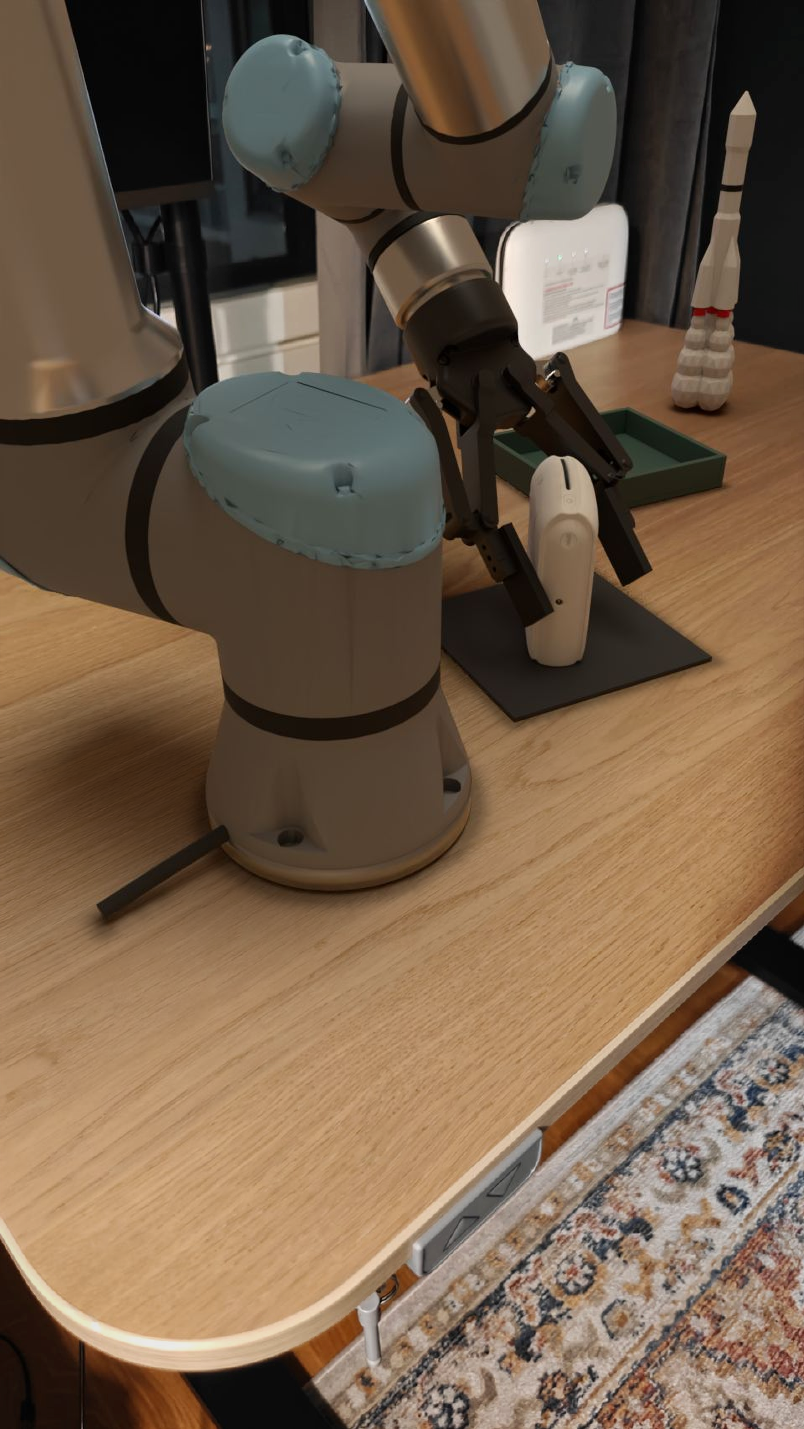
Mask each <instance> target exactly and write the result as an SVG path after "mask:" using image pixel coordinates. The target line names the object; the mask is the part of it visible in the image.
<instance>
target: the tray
mask: <svg viewBox="0 0 804 1429" xmlns="http://www.w3.org/2000/svg"><path fill="white" fill-rule="evenodd" d="M599 414H600V415H601V416H602V418H603V419H604V421H605V422H606V424H607V425H608V427H609V428H610V429H611V431H612V432H613V434H614V435H615V437H616V438H617V440H618V441H619V442H620V444H621V445H622V447H623V448H624V450H625V451H626V453H627V454H628V455H629V457H630V458H631V460H632V462H633V468H632V469H631V470H630V471H629V472H628V473H626V476H625V479H623V480H622V481H621V482H619V489H620V491H621V493H622V495H623V497H624V499H625V501H626V504H627V506H628V508H629V509H631V508H635V507H639V506H644V505H648V504H651V503H653V504H654V503H656V502H660V501H664V500H669V499H673V498H677V497H681V496H687V495H691V494H695V493H699V492H702V491H707V490H712V489H715V488H719V487H722V486H723V483H724V482H723V481H724V477H725V470H726V466H727V459H728V455H727V454H725V453H723V452H720V451H719V450H717V449H715V448H712V447H711V446H709V445H706V444H704V443H703V442H701V441H698V440H696V439H695V438H692V437H690V436H688V435H686V434H685V433H683V432H680V431H678V430H677V429H674V428H673V427H670V426H668V425H666V424H664V423H662V422H660V421H658V420H656V419H654V418H652V417H651V416H648V415H646V414H644V413H642V412H640V411H639V410H636V409H634V408H631V406H625V407H621V408H616V409H615V408H614V409H610V410H606V411H600V412H599ZM493 442H494V456H495V471H496V476H498V477H500V478H501V479H502V480H504V481H505V482H507V483H508V484H510V485H512V486H513V487H514V488H516V489H517V490H519V491H520V492H522V493H523V494H524V495H526V496H528V497H529V498H530V488H531V480H532V476H533V474H534V473H535V471H536V469H537V468H538V466H539V465H540V464H541V463H542V462H543V461H544V460H545V459H547V458H548V456H547V455H546V454H545V453H544V452H543V451H542V450H541V449H540V448H539V447H538V446H537V445H536V444H535V443H534V442H533V441H532V440H531V439H530V438H528V437H522V436H520V435H519V434H518V433H517V432H516V431H515V430H514V429H513V428H512V429H507V430H503V431H498V432H494V435H493ZM612 463H613V462H611V464H612ZM593 477H594V478H595V479H596V478H597V477H596V476H595V475H593Z"/></svg>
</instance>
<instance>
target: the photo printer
mask: <svg viewBox="0 0 804 1429" xmlns="http://www.w3.org/2000/svg"><path fill="white" fill-rule="evenodd" d="M528 513H529V514H528V526H527V528H528V529H527V544H526V553H527V555H528V557H529V559H530V561H531V563H532V565H533V568H534V570H535V572H536V574H537V576H538V578H539V580H540V582H541V584H542V586H543V588H544V590H545V592H546V594H547V596H548V599H549V601H550V603H551V605H552V607H553V609H554V612H553V613H551V614H549V615H548V616H546V617H544V618H543V619H541V620H540V621H538V622H536V623H535V624H533V625H531V626H528V627H526V628H525V631H526V640H527V647H528V651H529V654H530V657H531V659H535V660H537V662H538V663H540V664H543V665H547V666H556V667H560V666H568V665H572V664H574V663H575V662H576V661H579V660H581V659H582V656H583V653H584V650H585V644H586V637H587V629H588V621H589V612H590V603H591V594H592V584H593V575H594V572H595V566H596V565H595V564H596V557H597V556H596V555H597V546H598V511H597V503H596V497H595V492H594V488H593V484H592V481H591V479H590V476H589V474H588V472H587V470H586V469H585V467H584V466H583V465H582V464H581V463H580V462H579V461H578V460H576V459H574V458H573V457H570V456H566V457H557V456H550V457H548V458H547V459H545V460H544V461H543V462H542V463H541V464H540V465H539V466H538V468H537V469H536V471H535V473H534V474H533V476H532V480H531V488H530V497H529V510H528Z"/></svg>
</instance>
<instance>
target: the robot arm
mask: <svg viewBox="0 0 804 1429" xmlns="http://www.w3.org/2000/svg"><path fill="white" fill-rule="evenodd" d="M363 1H364V4H365V6H366V8H367V10H368V12H369V14H370V16H371V18H372V21H373V24H374V25H375V27H376V30H377V32H378V33H379V37H380V38H381V40H382V43H383V45H384V47H385V49H386V51H387V53H388V55H389V57H390V60H391V61H392V63H390V62H389V63H386V62H384V63H382V62H340V61H336V60H333V59H332V58H331V56H329V55H328V53H327V52H326V51H325V50H324V48H321V47H320V48H319V47H318V46H317V45H315V44H310V43H308V42H306V41H305V40H303V39H301V37H300V38H299V37H298V36H295V35H290V34H275V35H270V36H267V37H265V38H262V39H260V40H259V41H257V42H255V43H254V44H252V45H251V46H250V47H249V48H248V49H246V51H244V53H242V55H241V56H240V58H239V59H238V61H237V62H236V63H235V65H234V66H233V68H232V70H231V72H230V75H229V77H228V80H227V81H226V85H225V88H224V95H223V101H222V112H221V116H222V118H221V119H222V127H223V130H224V131H223V132H224V136H225V140H226V143H227V145H228V148H229V150H230V151H231V153H232V155H233V156H234V158H235V159H236V160H237V162H238V164H240V165H241V166H242V167H243V168H244V169H246V170H247V171H248V172H250V173H251V174H253V175H254V176H256V177H257V178H259V179H260V180H261V181H262V182H263V183H265V185H266V187H268V188H271V190H272V191H274V192H276V193H283V194H285V195H287V196H289V197H290V198H292V199H294V200H296V201H298V202H300V203H302V204H303V205H306V206H308V207H310V208H311V209H313V210H315V211H317V212H319V213H321V214H323V215H325V216H327V217H328V218H330V219H332V220H334V221H335V222H337V223H339V224H341V225H343V226H345V227H346V228H347V229H348V230H349V232H350V234H351V236H353V240H354V241H355V243H356V245H357V247H358V249H359V252H360V253H361V255H362V258H363V260H364V261H365V263H366V265H367V267H368V269H369V272H370V273H371V276H372V278H373V279H374V282H375V283H376V286H377V287H378V290H379V293H380V294H381V296H382V298H383V300H384V301H385V304H386V306H387V308H388V310H389V313H390V314H391V316H392V318H393V321H394V323H395V325H396V327H398V328H399V329H400V330H403V333H402V341H403V342H404V345H405V346H406V349H407V350H408V353H409V354H410V357H411V359H412V361H413V363H414V365H415V368H416V369H417V372H418V374H419V375H420V377H421V378H422V379H423V380H424V381H426V382H428V386H429V388H427V389H426V388H425V387H421V386H420V387H416V388H415V389H414V390H413V391H412V393H411V394H410V395H409V397H407V399H406V400H405V402H404V401H403V400H401V399H400V398H398V397H396V396H395V395H394V394H391V393H390V392H387V391H386V390H383V389H381V388H378V387H376V386H373V385H370V384H367V383H364V382H360V381H357V380H354V379H350V378H347V377H344V376H343V377H342V376H339V375H338V376H337V375H334V374H328V373H321V372H311V371H301V372H299V373H298V374H286V373H283V372H281V371H280V370H279V371H278V370H277V371H275V370H274V371H272V370H270V371H260V372H250V373H244V374H239V375H236V376H232V377H228V378H226V379H222V380H219V381H217V382H215V383H213V384H211V385H210V386H207V387H206V388H205V389H203V390H202V391H201V392H199V393H198V395H197V394H196V391H195V389H194V385H193V381H192V380H193V379H192V376H191V371H190V367H189V365H188V360H187V356H186V351H185V347H184V342H183V340H182V336H181V333H180V331H179V330H178V329H177V327H175V326H174V325H173V324H172V323H171V322H169V321H167V320H166V319H164V318H163V317H161V316H160V315H158V314H157V313H155V312H153V310H151V309H148V308H147V307H146V306H144V304H143V303H142V300H141V297H140V293H139V289H138V284H137V281H136V277H135V272H134V270H133V265H132V261H131V257H130V254H129V250H128V246H127V241H126V237H125V235H124V233H125V232H124V229H123V225H122V222H121V218H120V214H119V210H118V206H117V202H116V198H115V194H114V190H113V187H112V182H111V177H110V175H109V174H110V173H109V171H108V166H107V163H106V159H105V154H104V151H103V148H102V143H101V139H100V135H99V132H98V128H97V127H98V126H97V123H96V119H95V115H94V111H93V108H92V104H91V100H90V96H89V92H88V89H87V85H86V81H85V77H84V72H83V69H82V65H81V61H80V57H79V53H78V49H77V44H76V41H75V37H74V34H73V29H72V25H71V21H70V17H69V13H68V10H67V6H66V2H65V0H0V571H1V572H4V573H5V574H8V575H10V576H13V577H14V578H15V577H16V578H18V579H21V580H23V581H25V582H26V583H28V584H30V585H31V586H33V587H36V588H37V589H39V590H42V591H45V592H50V593H56V594H60V595H62V596H64V597H73V598H78V599H82V600H86V601H88V602H94V603H97V604H101V605H104V606H107V607H111V608H115V609H119V610H122V611H126V612H128V613H129V612H130V613H132V614H137V615H141V616H144V617H147V618H151V619H155V620H158V621H161V622H165V623H169V624H172V625H175V626H179V627H183V628H185V629H189V630H193V631H196V632H199V633H202V634H206V635H209V636H211V638H212V639H213V640H214V641H215V643H216V649H217V655H218V656H217V657H218V662H219V663H218V664H219V669H220V674H221V680H222V681H221V682H222V688H223V696H224V700H223V704H222V709H221V713H220V717H219V722H218V726H217V730H216V733H215V738H214V741H213V746H212V751H211V754H210V758H209V763H208V768H207V772H206V779H205V780H206V781H205V790H204V791H205V802H206V807H207V814H208V820H209V824H210V829H211V831H209V832H208V833H206V834H205V835H203V836H201V837H199V838H198V839H196V840H195V841H194V842H192V843H190V844H188V845H187V846H185V847H183V848H182V849H180V850H179V851H177V852H176V853H173V855H170V856H169V857H167V858H166V859H165V860H163V861H161V862H159V863H158V864H157V865H155V866H153V867H152V868H150V869H149V870H147V871H146V872H144V873H142V874H141V875H140V876H137V877H136V878H135V879H133V880H131V881H130V882H128V883H127V884H125V885H124V886H122V887H121V888H119V889H117V890H116V891H115V892H113V893H111V894H110V895H108V896H107V897H105V898H104V899H102V900H100V901H99V902H97V903H96V904H95V905H96V906H95V907H96V908H97V909H98V911H99V913H100V914H101V916H102V917H103V919H104V920H107V919H109V918H111V917H112V916H113V915H115V914H117V913H118V912H120V911H121V910H123V909H125V907H127V906H129V905H130V904H132V903H133V902H135V901H136V900H138V899H139V898H141V897H142V896H145V895H146V894H147V893H149V892H150V891H152V890H153V889H155V888H157V887H158V886H159V885H161V884H163V883H164V882H165V881H167V880H169V879H170V878H172V877H173V876H175V875H176V874H179V873H180V872H181V871H183V870H184V869H186V868H187V867H189V866H190V865H192V864H194V863H195V862H197V861H199V860H200V859H201V858H203V857H205V856H206V855H208V854H210V853H211V852H213V851H215V850H216V849H217V848H220V847H221V848H222V850H223V852H225V853H226V854H227V856H229V857H230V858H231V859H232V860H233V861H234V862H236V863H237V864H238V865H240V866H241V867H243V868H244V869H245V870H247V871H249V872H250V873H253V874H255V875H256V876H258V877H260V878H263V879H265V880H268V881H270V882H273V883H277V884H280V885H284V886H286V887H287V886H288V887H291V888H297V889H303V890H309V891H311V890H312V891H326V892H329V891H330V892H331V891H350V890H359V889H365V888H372V887H376V886H380V885H383V884H387V883H390V882H393V881H396V880H399V879H402V878H404V877H407V876H409V875H412V874H413V873H415V872H417V871H419V870H421V869H423V868H425V867H427V866H428V865H429V864H431V863H433V862H434V861H436V859H438V858H439V857H440V856H441V855H443V854H444V853H445V852H446V851H447V850H448V849H449V848H450V847H451V846H452V845H453V844H454V843H455V842H456V841H457V839H458V838H459V836H460V835H461V833H462V832H463V830H464V828H465V826H466V824H467V821H468V819H469V815H470V811H471V806H472V787H473V786H472V784H473V783H472V780H473V779H472V770H471V766H470V760H469V756H468V752H467V750H466V747H465V745H464V742H463V740H462V737H461V735H460V732H459V729H458V726H457V724H456V722H455V719H454V716H453V714H452V711H451V709H450V706H449V703H448V701H447V698H446V696H445V693H444V690H443V687H442V683H441V682H442V681H441V680H442V679H441V654H442V648H441V605H442V599H443V596H442V595H443V593H442V592H443V543H444V542H443V540H446V541H450V542H452V541H454V540H455V539H461V542H462V543H463V544H464V545H465V546H466V547H474V546H476V549H477V550H478V553H479V554H480V558H481V559H482V561H483V563H484V564H485V567H486V569H487V571H488V573H489V576H490V578H491V579H492V580H493V581H494V582H495V583H496V584H501V583H504V586H505V588H506V590H507V592H508V594H509V596H510V598H511V600H512V602H513V604H514V606H515V608H516V610H517V613H518V615H519V617H520V619H521V621H522V623H523V625H524V627H525V628H526V627H528V626H531V625H533V624H535V623H536V622H538V621H540V620H541V619H543V618H544V617H546V616H548V615H549V614H551V613H553V612H554V609H553V607H552V605H551V603H550V601H549V599H548V596H547V594H546V592H545V590H544V588H543V586H542V584H541V582H540V580H539V578H538V576H537V574H536V572H535V570H534V568H533V565H532V563H531V561H530V559H529V557H528V555H527V550H526V549H525V547H524V545H523V543H522V541H521V539H520V536H519V535H518V532H517V531H516V528H515V526H514V524H513V522H511V521H510V522H508V523H505V524H502V525H501V526H500V527H499V526H498V525H499V523H500V516H499V503H498V487H497V474H496V471H495V456H494V442H493V435H494V433H496V431H497V430H505V431H508V430H513V429H514V430H515V431H516V432H517V433H518V434H519V435H520V436H522V437H528V438H530V439H531V440H532V441H533V442H534V443H535V444H536V445H537V446H538V447H539V448H540V449H541V450H542V451H543V452H544V453H545V454H546V455H547V456H548V457H550V456H557V457H566V456H570V457H573V458H574V459H576V460H578V461H579V462H580V463H581V464H582V465H583V466H584V467H585V469H586V470H587V472H588V474H589V476H590V479H591V481H592V484H593V488H594V492H595V497H596V503H597V511H598V537H597V539H598V540H599V543H600V544H601V546H602V548H603V550H604V553H605V555H606V556H607V559H608V562H610V565H611V567H612V569H613V571H614V573H615V575H616V577H617V579H618V582H619V583H620V586H621V587H622V588H624V587H626V586H629V585H631V584H632V583H634V582H636V581H638V580H639V579H641V578H642V577H644V576H646V575H648V574H649V573H651V572H653V571H654V568H653V567H652V565H651V563H650V561H649V559H648V557H647V555H646V553H645V550H644V548H643V547H642V544H641V542H640V540H639V538H638V536H637V534H636V532H635V530H634V529H636V520H635V518H634V516H633V514H632V512H631V510H630V508H628V506H627V504H626V501H625V499H624V497H623V495H622V493H621V491H620V489H619V482H621V481H622V480H623V479H625V476H626V473H628V472H629V471H630V470H631V469H632V468H633V462H632V460H631V458H630V457H629V455H628V454H627V453H626V451H625V450H624V448H623V447H622V445H621V444H620V442H619V441H618V440H617V438H616V437H615V435H614V434H613V432H612V431H611V429H610V428H609V427H608V425H607V424H606V422H605V421H604V419H603V418H602V416H601V415H600V414H599V413H600V412H599V410H598V409H597V408H596V407H595V405H594V403H593V402H592V401H591V399H590V397H589V396H588V395H587V393H586V392H585V390H584V389H583V388H582V386H581V385H580V383H579V382H578V380H577V378H576V376H575V372H574V370H573V367H572V364H571V362H570V359H569V356H568V355H567V354H566V353H565V352H563V351H556V352H555V354H554V355H553V356H552V357H551V358H549V359H543V360H542V359H541V360H535V359H534V358H533V357H532V356H531V355H530V354H529V353H528V352H527V351H526V350H525V349H524V348H523V347H522V345H521V343H520V339H519V338H520V337H519V322H518V319H517V317H516V315H515V313H514V312H513V310H512V307H511V305H510V303H509V301H508V299H507V297H506V295H505V292H504V290H503V289H502V287H501V285H500V284H499V282H497V281H496V280H493V276H494V270H493V268H492V266H491V264H490V262H489V260H488V258H487V256H486V255H485V252H484V250H483V248H482V246H481V244H480V242H479V240H478V239H477V237H476V234H475V232H474V231H473V229H472V226H471V225H470V222H469V221H468V218H467V217H466V216H473V217H484V218H494V219H505V220H514V221H518V222H519V223H525V224H526V223H528V222H529V221H567V222H568V221H572V222H573V221H576V220H579V219H582V218H584V217H585V216H587V215H588V214H590V212H592V211H593V209H595V207H596V205H597V204H598V202H599V200H600V199H601V198H602V194H603V193H604V190H605V187H606V184H607V182H608V179H609V175H610V173H611V169H612V164H613V159H614V154H615V147H616V138H617V127H618V126H617V123H618V122H617V119H618V118H617V117H618V114H617V112H618V111H617V101H616V95H615V90H614V88H613V84H612V82H611V80H610V78H609V77H608V76H607V75H605V74H604V72H602V71H601V70H600V69H599V68H597V67H593V66H587V65H578V64H575V63H574V61H566V63H563V64H556V60H555V57H554V54H553V50H552V48H551V45H550V42H549V37H548V33H547V31H546V28H545V26H544V21H543V18H542V14H541V10H540V7H539V6H540V5H539V4H538V0H363ZM532 409H534V412H533V413H532V414H531V415H530V413H531V411H532ZM443 413H445V414H447V415H448V416H449V417H450V418H452V419H454V420H455V430H456V431H455V434H456V447H457V449H458V450H460V459H461V460H460V461H461V469H460V467H459V462H458V459H457V456H456V453H455V450H454V446H453V443H452V442H453V441H452V439H451V435H450V432H449V428H448V425H447V422H446V419H445V417H444V415H443ZM529 415H530V416H529ZM611 462H613V463H612V464H611ZM593 475H595V476H596V477H597V478H596V479H595V478H594V477H593Z"/></svg>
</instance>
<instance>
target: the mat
mask: <svg viewBox="0 0 804 1429" xmlns="http://www.w3.org/2000/svg"><path fill="white" fill-rule="evenodd" d="M441 650H443V651H444V652H445V653H446V654H447V655H448V656H449V657H450V658H451V659H452V660H453V661H454V662H455V663H456V664H457V665H458V666H459V667H460V669H462V670H463V672H465V673H466V675H468V676H469V678H471V680H473V681H474V683H476V684H477V685H478V686H479V688H480V689H482V690H483V691H484V692H485V694H487V696H488V697H490V698H491V700H492V701H494V702H495V704H497V706H498V707H499V708H500V709H501V710H502V711H503V712H504V713H505V714H506V715H507V716H508V717H509V718H510V719H511V720H512V721H513V722H519V721H522V720H525V719H527V718H530V717H534V716H537V715H540V714H543V713H547V712H551V711H553V710H556V709H560V708H563V707H567V706H570V705H573V704H576V703H579V702H583V701H585V700H590V699H593V698H595V697H598V696H601V695H602V696H603V695H605V694H608V693H610V692H611V693H612V692H615V691H618V690H621V689H625V688H627V687H630V686H633V685H637V684H640V683H643V682H647V681H649V680H652V679H656V678H660V677H662V676H666V675H669V674H672V673H675V672H679V671H682V670H685V669H689V668H691V667H695V666H698V665H701V664H704V663H708V662H711V661H713V656H712V655H711V654H709V653H708V652H706V651H705V650H704V649H702V648H700V646H699V645H696V644H695V643H694V642H692V641H691V640H690V639H688V638H687V637H686V636H684V635H683V634H681V633H680V632H679V631H677V630H676V629H675V628H674V627H672V626H671V625H669V624H668V623H667V622H666V621H664V620H662V619H661V618H660V617H658V616H656V615H655V614H654V613H652V611H649V610H648V609H647V608H646V607H644V606H643V605H641V604H640V603H638V602H637V601H636V600H635V599H633V598H632V597H630V596H629V595H628V594H626V593H625V592H624V591H622V590H621V589H620V588H618V587H616V585H614V584H613V583H611V582H610V581H608V580H607V579H605V578H604V577H603V576H601V575H600V574H599V573H597V572H596V571H594V575H593V584H592V594H591V603H590V612H589V621H588V629H587V637H586V644H585V650H584V653H583V656H582V659H581V660H579V661H576V662H575V663H574V664H572V665H568V666H560V667H556V666H547V665H543V664H540V663H538V662H537V660H535V659H531V657H530V654H529V651H528V647H527V640H526V631H525V627H524V625H523V623H522V621H521V619H520V617H519V615H518V613H517V610H516V608H515V606H514V604H513V602H512V600H511V598H510V596H509V594H508V592H507V590H506V588H505V586H504V583H503V582H501V583H497V584H494V585H491V586H487V587H483V588H478V589H476V590H471V591H468V592H463V593H460V594H456V595H451V596H448V597H444V598H442V605H441Z"/></svg>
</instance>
